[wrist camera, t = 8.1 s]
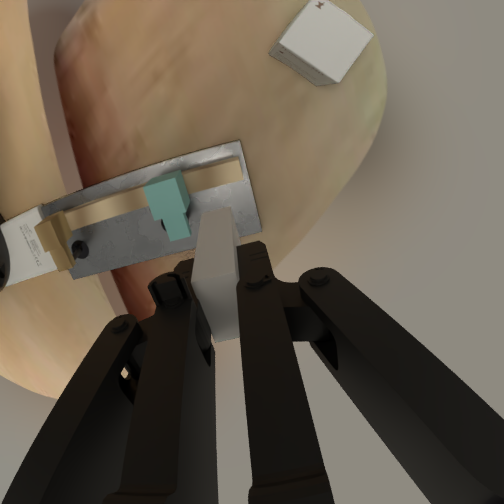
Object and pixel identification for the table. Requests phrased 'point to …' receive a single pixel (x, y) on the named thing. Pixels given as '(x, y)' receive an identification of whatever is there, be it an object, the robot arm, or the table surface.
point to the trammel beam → (122, 208)
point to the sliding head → (169, 203)
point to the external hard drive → (26, 247)
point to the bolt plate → (141, 220)
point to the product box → (321, 42)
